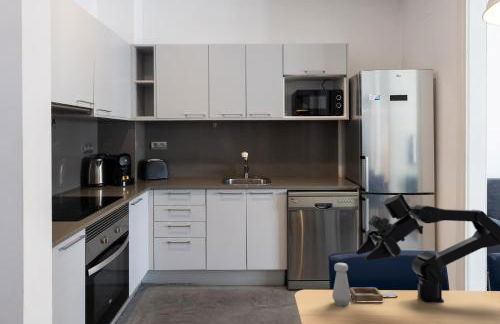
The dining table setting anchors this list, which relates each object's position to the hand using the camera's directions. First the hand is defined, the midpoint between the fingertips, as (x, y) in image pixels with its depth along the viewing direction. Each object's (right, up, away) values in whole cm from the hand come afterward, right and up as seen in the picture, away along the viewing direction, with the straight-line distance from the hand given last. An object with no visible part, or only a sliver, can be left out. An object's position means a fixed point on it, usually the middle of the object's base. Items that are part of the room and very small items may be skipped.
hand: (361, 256), depth 139 cm
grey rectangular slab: (+10, -15, +6) cm, 19 cm away
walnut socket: (+2, -15, +3) cm, 16 cm away
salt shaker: (-7, -15, -2) cm, 17 cm away
